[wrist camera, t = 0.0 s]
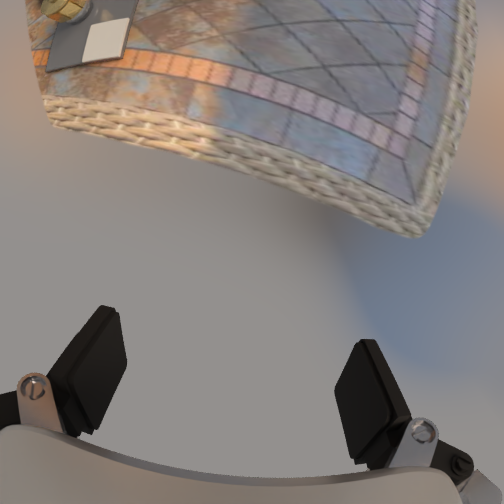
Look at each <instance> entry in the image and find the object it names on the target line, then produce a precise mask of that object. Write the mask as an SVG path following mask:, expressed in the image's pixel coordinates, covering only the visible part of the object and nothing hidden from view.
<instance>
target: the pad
mask: <svg viewBox="0 0 504 504" xmlns="http://www.w3.org/2000/svg"><path fill="white" fill-rule="evenodd" d="M129 20H130V19H129V18H123V19H117V20H112V21H107V22H102V23H98V24H93V25H91V27H90V31H89V34H88V38H87V42H86V46H85V50H84V54H83V58H82V62H83V63H85V62H90V61H96V60H102V59H109V58H116V57H120V56H121V51H122V47H123V43H124V38H125V35H126V31H127V27H128V23H129Z"/></svg>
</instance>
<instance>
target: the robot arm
mask: <svg viewBox="0 0 504 504" xmlns="http://www.w3.org/2000/svg"><path fill="white" fill-rule="evenodd" d="M126 367H127V358H126V352H125V347H124V342H123V335H122V330H121V323H120V316H119V313H118V312H116V310H115V308H112V307H108V306H104V305H101V306H99V308H98V309H97V310H96V311H95V313H94V314H93V315H92V316H91V317H90V319H89V320H88V321H87V323H86V324H85V325H84V326H83V328H82V329H81V330H80V332H79V333H78V334H77V335H76V336H75V337H74V338H73V340H72V341H71V342H70V344H69V345H68V346H67V347H66V349H65V350H64V352H63V353H62V354H61V356H60V357H59V358H58V360H57V361H56V363H55V364H54V365H53V367H52V368H51V370H50V371H49V373H48V374H47V375H46V376H44V375H43V374H40V373H30V374H27V375H25V376H24V377H22V378H21V380H20V381H19V382H18V385H17V390H16V391H12V392H8V393H4V394H0V504H501V501H502V493H501V491H500V489H499V488H498V487H497V486H496V485H494V484H493V483H492V482H491V481H490V480H489V479H488V478H487V477H486V476H484V475H483V474H482V473H481V472H480V471H479V470H478V469H477V470H475V471H474V464H473V460H472V458H471V457H470V456H469V455H468V454H467V453H465V452H463V451H461V450H459V449H457V448H455V447H453V446H451V445H449V444H447V443H445V442H443V441H441V440H439V439H438V437H439V433H438V429H437V427H436V425H434V423H433V422H432V421H430V420H428V419H426V418H415V419H412V417H411V413H410V411H409V409H408V406H407V404H406V402H405V399H404V397H403V395H402V393H401V391H400V389H399V387H398V385H397V382H396V380H395V378H394V376H393V374H392V372H391V370H390V368H389V366H388V364H387V362H386V360H385V358H384V356H383V354H382V352H381V350H380V348H379V346H378V344H377V342H376V341H375V340H374V339H361V340H360V341H359V342H358V343H356V344H355V345H354V348H353V350H352V352H351V354H350V357H349V359H348V361H347V363H346V365H345V367H344V369H343V371H342V374H341V376H340V378H339V380H338V382H337V384H336V386H335V390H334V392H335V397H336V402H337V406H338V409H339V413H340V417H341V422H342V425H343V429H344V434H345V438H346V442H347V447H348V451H349V455H350V457H351V458H352V459H354V462H355V465H357V464H364V463H366V464H367V468H368V469H367V470H366V471H365V472H358V473H351V474H342V475H332V476H321V477H305V478H304V477H303V478H259V477H240V476H229V475H219V474H211V473H203V472H197V471H191V470H185V469H180V468H174V467H170V466H165V465H160V464H156V463H152V462H148V461H144V460H140V459H136V458H133V457H130V456H126V455H123V454H120V453H117V452H113V451H110V450H107V449H104V448H101V447H98V446H95V445H93V444H90V443H87V442H84V441H82V440H80V438H79V436H80V435H81V432H85V433H87V434H90V435H92V434H93V431H94V429H95V430H97V429H98V428H99V427H100V424H101V422H102V420H103V417H104V415H105V413H106V410H107V408H108V406H109V404H110V402H111V400H112V397H113V395H114V393H115V391H116V389H117V386H118V384H119V382H120V380H121V378H122V375H123V374H124V372H125V370H126Z"/></svg>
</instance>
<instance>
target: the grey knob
mask: <svg viewBox="0 0 504 504" xmlns="http://www.w3.org/2000/svg"><path fill="white" fill-rule="evenodd" d="M92 9H93V2H92V1H91V0H86V3H85V5H84V8H82V10H81V11H80V12H79V13H78V14H77V15H76V16H75V17H74V18H73V19H72V20H69V21H66V22H67V23H69V24H71V25H76V24H79V23H81V22H82V21H84V20H85V19H86V18H87V17H88V16H89V14H90V13H91V11H92Z"/></svg>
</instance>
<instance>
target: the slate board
mask: <svg viewBox="0 0 504 504" xmlns="http://www.w3.org/2000/svg"><path fill="white" fill-rule="evenodd" d="M91 1H92V2H93V9H92V11H91V13H90V14H89V16H88V17H87V18H86V19H85V20H84V21H82V22H81V23H79V24H76V25H71V24H69V23H67V22H63V23H60V22H58V25H57V28H56V32H55V35H54V38H53V42H52V46H51V49H50V53H49V58H48V62H47V66H46V71H45V72H52V71H56V70H60V69H64V68H69V67H73V66H78V65H83V64H89V63H94V62H101V61H107V60H115V59H123V56H124V52H125V47H126V43H127V39H128V35H129V31H130V27H131V23H132V20H133V16H134V13H135V10H136V6H137V3H138V0H91ZM123 18H129V19H130V20H129V23H128V27H127V31H126V35H125V38H124V43H123V47H122V51H121V56H120V57H116V58H109V59H102V60H96V61H90V62H85V63H83V62H82V58H83V54H84V50H85V46H86V42H87V38H88V34H89V31H90V27H91V25H93V24H98V23H102V22H107V21H112V20H117V19H123Z"/></svg>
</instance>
